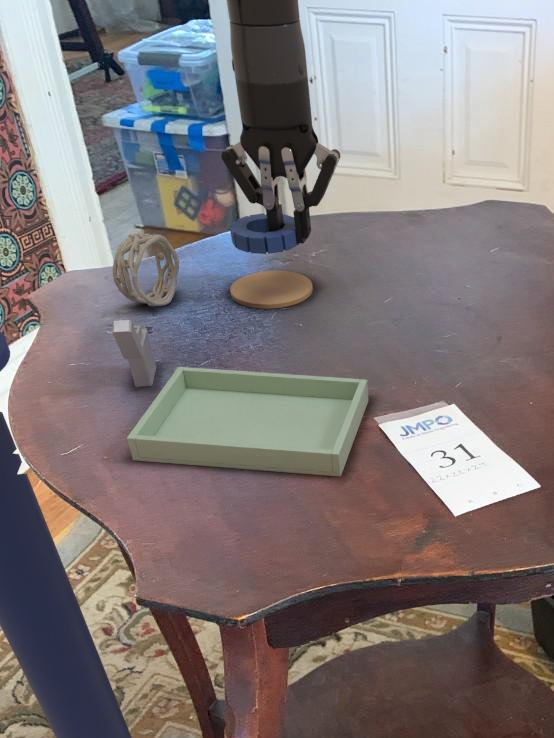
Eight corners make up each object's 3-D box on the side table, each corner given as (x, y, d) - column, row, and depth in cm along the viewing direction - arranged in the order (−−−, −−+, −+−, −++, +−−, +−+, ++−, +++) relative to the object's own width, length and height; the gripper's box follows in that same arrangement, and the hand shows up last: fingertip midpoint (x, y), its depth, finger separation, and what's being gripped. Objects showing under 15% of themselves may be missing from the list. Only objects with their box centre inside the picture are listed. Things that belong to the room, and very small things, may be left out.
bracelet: (189, 292, 104) (175, 225, 99) (148, 318, 99) (131, 249, 94) (162, 286, 105) (147, 220, 100) (120, 312, 100) (102, 243, 95)
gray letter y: (139, 367, 90) (120, 294, 85) (156, 366, 91) (138, 293, 85) (131, 401, 85) (110, 326, 80) (148, 400, 86) (129, 325, 80)
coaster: (220, 306, 102) (219, 301, 101) (244, 272, 109) (243, 268, 108) (301, 311, 101) (301, 306, 100) (320, 277, 108) (320, 272, 108)
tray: (132, 460, 78) (126, 438, 76) (183, 387, 87) (178, 366, 86) (340, 476, 76) (338, 454, 75) (368, 400, 86) (367, 379, 84)
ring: (224, 251, 98) (221, 236, 97) (244, 226, 104) (241, 211, 103) (292, 255, 98) (290, 239, 96) (308, 230, 103) (306, 214, 102)
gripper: (343, 65, 91) (354, 232, 103) (217, 61, 92) (243, 226, 104) (328, 82, 85) (342, 256, 97) (194, 77, 86) (224, 249, 98)
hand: (291, 239), depth 100 cm, fingers closed on ring, 2 cm apart
